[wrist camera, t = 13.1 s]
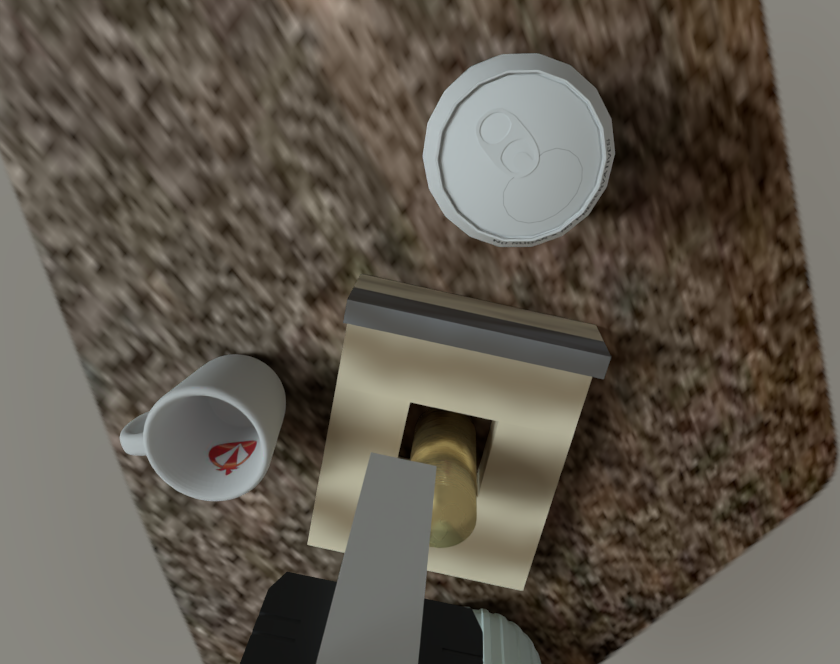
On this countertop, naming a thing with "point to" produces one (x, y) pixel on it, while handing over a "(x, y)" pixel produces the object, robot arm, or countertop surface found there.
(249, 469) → the cup
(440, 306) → the jig
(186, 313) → the countertop surface
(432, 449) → the brass cylinder
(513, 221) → the supplement can
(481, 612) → the vase
